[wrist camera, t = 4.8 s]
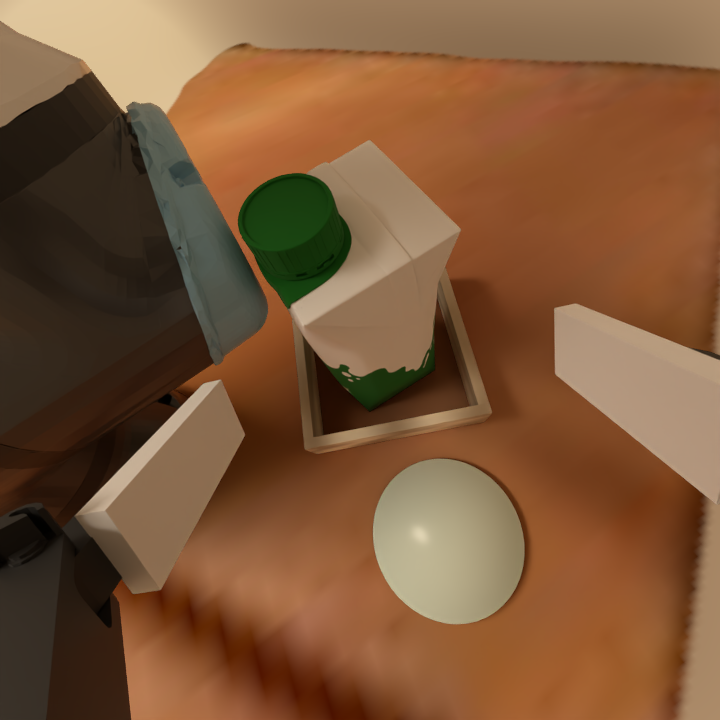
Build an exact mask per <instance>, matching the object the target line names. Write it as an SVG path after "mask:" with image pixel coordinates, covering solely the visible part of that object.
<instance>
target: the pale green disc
mask: <svg viewBox="0 0 720 720" xmlns="http://www.w3.org/2000/svg"><path fill="white" fill-rule="evenodd" d="M373 542H374V549H375V554H376V558H377V561H378V564H379V567H380V569H381V571H382V573H383V575H384V578H385V579H386V581H387V582H388V584H389V586H390V587H391V588H392V590H393V591H394V592H395V593H396V595H397V596H398V597H399V598H400V599H401V600H402V601H403V602H404V603H405V604H406V605H408V606H409V607H410V608H412V609H413V610H414V611H416V612H418V613H419V614H421V615H423V616H425V617H427V618H429V619H432V620H434V621H438V622H442V623H448V624H467V623H472V622H476V621H479V620H481V619H484V618H486V617H488V616H490V615H491V614H493V613H495V612H496V611H497V610H498V609H500V608H501V607H502V606H503V605H504V604H505V603H506V602H507V600H508V599H509V598H510V597H511V595H512V593H513V592H514V590H515V589H516V587H517V584H518V582H519V579H520V577H521V573H522V569H523V564H524V537H523V531H522V527H521V523H520V520H519V518H518V515H517V513H516V511H515V509H514V507H513V505H512V503H511V501H510V500H509V498H508V497H507V495H506V494H505V492H504V491H503V490H502V489H501V488H500V486H499V485H498V484H497V483H496V482H495V481H493V480H492V479H491V478H490V477H489V476H487V475H486V474H485V473H483V472H482V471H480V470H479V469H477V468H475V467H473V466H471V465H469V464H466V463H463V462H460V461H456V460H451V459H430V460H425V461H421V462H418V463H416V464H413V465H411V466H409V467H407V468H406V469H404V470H403V471H401V472H400V473H399V474H398V475H396V476H395V477H394V478H393V480H392V481H391V482H390V483H389V484H388V486H387V487H386V488H385V490H384V492H383V494H382V495H381V497H380V500H379V502H378V505H377V508H376V512H375V515H374V522H373Z"/></svg>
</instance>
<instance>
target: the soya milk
mask: <svg viewBox="0 0 720 720" xmlns="http://www.w3.org/2000/svg"><path fill="white" fill-rule="evenodd" d="M238 227H239V231H240V234H241V236H242V238H243V240H244V241H245V243H246V244H247V246H248V247H249V248H250V250H251V251H252V253H253V254H254V256H255V259H256V262H257V264H258V266H259V268H260V270H261V272H262V274H263V276H264V277H265V279H266V280H267V282H268V283H269V284H270V285H271V286H272V287H273V288H274V289H275V291H276V292H277V293H278V295H279V296H280V298H281V300H282V301H283V303H284V304H285V306H286V307H287V309H288V311H289V313H290V315H291V316H292V318H293V320H294V322H295V324H296V325H297V327H298V329H299V330H300V332H301V333H302V335H303V336H304V338H305V339H306V340H307V342H308V343H309V344H310V346H311V347H312V348H313V350H314V351H315V352H316V353H317V355H318V356H319V357H320V359H321V360H322V361H323V363H324V364H325V365H326V367H327V368H328V369H329V371H330V372H331V373H332V375H333V376H334V377H335V378H336V379H337V380H338V382H339V383H340V384H341V385H342V386H343V387H344V388H345V389H346V390H347V391H348V392H349V393H350V394H351V395H353V396H354V397H355V398H356V399H357V400H358V401H359V402H360V403H361V404H362V405H363V406H364V407H365V408H366V409H367V410H368V411H369V412H370V411H371V410H373V409H375V408H376V407H378V406H379V405H381V404H382V403H384V402H386V401H387V400H389V399H390V398H392V397H393V396H395V395H396V394H398V393H400V392H401V391H403V390H404V389H406V388H407V387H409V386H411V385H412V384H414V383H415V382H417V381H418V380H420V379H422V378H423V377H425V376H426V375H428V374H429V373H431V372H432V371H434V370H435V350H434V325H435V312H436V300H437V288H438V282H439V280H440V277H441V275H442V273H443V270H444V268H445V266H446V263H447V261H448V259H449V256H450V254H451V252H452V250H453V247H454V245H455V243H456V240H457V238H458V236H459V233H460V231H461V229H460V228H459V227H458V226H457V225H456V224H455V223H454V222H453V221H452V220H451V219H450V218H449V217H448V216H447V215H446V214H445V213H444V212H443V211H442V210H441V209H440V208H439V207H438V206H437V205H436V204H435V203H434V202H433V201H432V200H431V199H430V198H429V197H428V196H427V195H426V194H425V193H423V192H422V191H421V190H420V189H419V188H418V187H417V186H416V185H415V184H414V183H413V182H412V181H411V180H410V179H409V178H408V177H407V176H406V175H405V174H404V173H403V172H402V171H401V170H400V169H399V168H398V167H397V166H396V165H395V164H394V163H393V162H392V161H391V160H390V159H389V158H388V157H387V156H386V155H385V154H384V153H383V152H382V151H381V150H380V149H379V148H378V147H377V146H376V145H375V144H374V143H373V142H372V141H370V140H368V141H367V142H365V143H363V144H361V145H360V146H358V147H356V148H355V149H353V150H351V151H349V152H348V153H346V154H344V155H343V156H341V157H339V158H338V159H336V160H334V161H333V162H331V163H329V164H328V163H327V162H324V163H322V164H320V165H319V166H317V167H315V168H313V169H312V170H310V171H309V172H308V173H307V174H302V173H292V174H286V175H281V176H278V177H275V178H273V179H270V180H268V181H267V182H265V183H263V184H262V185H260V186H259V187H257V188H256V189H255V190H254V191H253V192H252V193H251V194H250V195H249V196H248V197H247V199H246V200H245V202H244V203H243V205H242V207H241V209H240V212H239V216H238Z"/></svg>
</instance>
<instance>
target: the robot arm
mask: <svg viewBox="0 0 720 720" xmlns="http://www.w3.org/2000/svg"><path fill="white" fill-rule="evenodd" d="M127 111H128V113H125V112H124V111H123V110H122V109H120V107H119V106H118V105H117V103H116V102H115V101H114V100H113V98H112V97H111V96H110V94H109V93H108V92H107V90H106V89H105V88H104V87H103V85H102V84H101V83H100V81H99V80H98V79H97V77H96V76H95V75H94V73H93V72H92V71H91V69H90V68H89V67H88V66H87V64H86V63H85V62H84V61H83V60H81V59H79V58H77V57H74V56H72V55H70V54H67V53H65V52H62V51H60V50H58V49H55V48H53V47H51V46H48V45H46V44H43V43H41V42H39V41H36V40H34V39H31V38H29V37H27V36H24V35H22V34H19V33H18V32H16V31H15V30H13V29H12V28H10V27H9V26H7V25H5V24H4V23H2V22H1V21H0V720H131V714H130V704H129V694H128V685H127V675H126V665H125V656H124V646H123V636H122V627H121V617H120V607H119V602H118V600H117V598H116V597H115V596H114V594H113V593H112V592H113V591H114V589H115V588H116V586H117V585H118V583H119V582H120V580H121V579H122V580H123V581H124V583H125V584H126V585H127V587H128V588H129V589H130V591H131V592H132V593H133V594H137V593H144V592H150V591H157V590H161V588H162V586H163V585H164V583H165V581H166V579H167V577H168V575H169V574H170V572H171V570H172V568H173V566H174V564H175V563H176V561H177V559H178V557H179V555H180V553H181V552H182V550H183V548H184V546H185V544H186V542H187V541H188V539H189V537H190V535H191V533H192V532H193V530H194V528H195V526H196V524H197V522H198V521H199V519H200V517H201V515H202V513H203V511H204V510H205V508H206V506H207V504H208V502H209V500H210V499H211V497H212V495H213V493H214V491H215V489H216V488H217V486H218V484H219V482H220V480H221V478H222V477H223V475H224V473H225V471H226V469H227V468H228V466H229V464H230V462H231V460H232V458H233V457H234V455H235V453H236V451H237V449H238V447H239V446H240V444H241V442H242V440H243V438H244V436H245V433H244V431H243V429H242V426H241V424H240V422H239V420H238V417H237V415H236V413H235V410H234V408H233V406H232V404H231V401H230V399H229V397H228V394H227V392H226V390H225V387H224V385H223V383H222V381H221V380H217V381H212V382H208V383H203V384H202V385H201V386H200V388H199V389H198V390H197V391H196V392H195V393H194V394H193V395H192V396H191V397H190V398H189V399H188V398H187V397H186V396H184V395H183V394H181V393H179V392H177V391H174V389H175V388H177V387H179V386H180V385H182V384H183V383H185V382H186V381H188V380H189V379H191V378H192V377H194V376H195V375H197V374H198V373H200V372H201V371H203V370H204V369H206V368H207V367H209V366H210V365H212V364H213V363H214V364H215V365H219V364H220V363H221V362H222V361H223V358H224V356H225V355H227V354H228V353H229V352H231V351H232V350H234V349H235V348H236V347H238V346H239V345H240V344H242V343H243V342H245V341H246V340H247V339H249V338H250V337H251V336H253V335H254V334H256V333H257V332H258V331H259V330H260V329H261V327H262V326H263V325H264V323H265V320H266V317H267V313H268V304H267V299H266V296H265V294H264V292H263V290H262V288H261V286H260V284H259V282H258V280H257V278H256V276H255V274H254V272H253V270H252V268H251V267H250V265H249V263H248V261H247V259H246V257H245V255H244V253H243V252H242V250H241V248H240V246H239V244H238V242H237V240H236V239H235V237H234V235H233V233H232V231H231V230H230V228H229V226H228V224H227V222H226V220H225V219H224V217H223V215H222V213H221V211H220V209H219V208H218V206H217V204H216V202H215V201H214V199H213V197H212V195H211V194H210V192H209V190H208V188H207V187H206V185H205V184H204V183H203V181H202V178H201V176H200V174H199V172H198V171H197V169H196V167H195V166H194V164H193V162H192V160H191V159H190V157H189V155H188V153H187V151H186V149H185V147H184V145H183V143H182V141H181V140H180V138H179V136H178V134H177V133H176V131H175V129H174V127H173V126H172V124H171V122H170V121H169V119H168V117H167V116H166V114H165V113H164V112H163V111H162V109H161V108H160V107H158V106H157V105H154V104H152V103H144V104H140V103H136V102H132V103H131V104H129V105H128V106H127ZM554 326H555V375H557V376H558V377H559V378H560V379H562V380H563V381H564V382H565V383H567V384H568V385H569V386H570V387H571V388H573V389H574V390H575V391H576V392H578V393H579V394H580V395H581V396H583V397H584V398H585V399H586V400H588V401H589V402H590V403H591V404H593V405H594V406H595V407H596V408H598V409H599V410H600V411H601V412H602V413H604V414H605V415H606V416H607V417H609V418H610V419H611V420H612V421H614V422H615V423H616V424H617V425H619V426H620V427H621V428H622V429H624V430H625V431H626V432H627V433H628V434H630V435H631V436H632V437H633V438H635V439H636V440H637V441H638V442H640V443H641V444H642V445H643V446H645V447H646V448H647V449H648V450H650V451H651V452H652V453H653V454H654V455H656V456H657V457H658V458H659V459H661V460H662V461H663V462H664V463H666V464H667V465H668V466H669V467H671V468H672V469H673V470H674V471H676V472H677V473H678V474H679V475H680V476H682V477H683V478H684V479H685V480H687V481H688V482H689V483H690V484H692V485H693V486H694V487H695V488H697V489H698V490H699V491H700V492H702V493H703V494H704V495H705V496H706V497H708V498H709V499H710V500H711V501H713V502H714V503H715V504H720V355H717V354H715V353H712V352H708V351H703V350H698V349H693V348H688V347H685V346H682V345H680V344H677V343H675V342H672V341H670V340H667V339H665V338H662V337H659V336H657V335H654V334H652V333H649V332H647V331H644V330H642V329H639V328H637V327H634V326H632V325H629V324H627V323H624V322H622V321H619V320H616V319H614V318H611V317H609V316H606V315H604V314H601V313H599V312H596V311H594V310H591V309H589V308H586V307H584V306H581V305H579V304H576V303H575V304H571V305H566V306H561V307H557V308H554Z"/></svg>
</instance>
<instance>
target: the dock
mask: <svg viewBox="0 0 720 720" xmlns="http://www.w3.org/2000/svg"><path fill="white" fill-rule="evenodd" d="M437 299H438V302H439V305H440V309H441V312H442V315H443V319H444V322H445V325H446V329H447V332H448V336H449V339H450V342H451V346H452V349H453V352H454V356H455V359H456V362H457V366H458V369H459V372H460V376H461V379H462V383H463V386H464V389H465V393H466V396H467V399H468V403H469V406H470V407H465V408H459V409H454V410H449V411H444V412H439V413H434V414H429V415H424V416H419V417H414V418H409V419H404V420H399V421H394V422H389V423H384V424H379V425H374V426H368V427H363V428H358V429H353V430H348V431H343V432H338V433H333V434H328V435H324V431H323V423H322V415H321V406H320V398H319V390H318V381H317V373H316V364H315V356H314V350H313V348H312V347H311V346H310V344H309V343H308V342H307V340H306V339H305V338H304V336H303V335H302V333H301V332H300V330H299V329H298V327H297V325H296V324H295V322H294V320H293V318H292V323H293V333H294V344H295V354H296V365H297V375H298V386H299V396H300V407H301V417H302V427H303V438H304V448H305V450H307V451H310V452H313V453H316V454H321V453H326V452H331V451H336V450H341V449H347V448H352V447H357V446H362V445H367V444H372V443H378V442H383V441H388V440H393V439H398V438H404V437H409V436H414V435H419V434H424V433H430V432H435V431H440V430H445V429H450V428H455V427H461V426H466V425H471V424H476V423H481V422H485V421H486V420H487V418H488V417H489V416H490V415H491V414H492V410H491V407H490V404H489V401H488V398H487V394H486V391H485V388H484V385H483V382H482V379H481V376H480V373H479V370H478V367H477V363H476V360H475V357H474V354H473V351H472V348H471V345H470V342H469V339H468V336H467V332H466V329H465V326H464V323H463V320H462V317H461V314H460V311H459V308H458V305H457V301H456V298H455V295H454V292H453V289H452V286H451V283H450V280H449V277H448V273H447V270H446V267H445V268H444V270H443V273H442V275H441V277H440V280H439V282H438V288H437Z"/></svg>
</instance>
